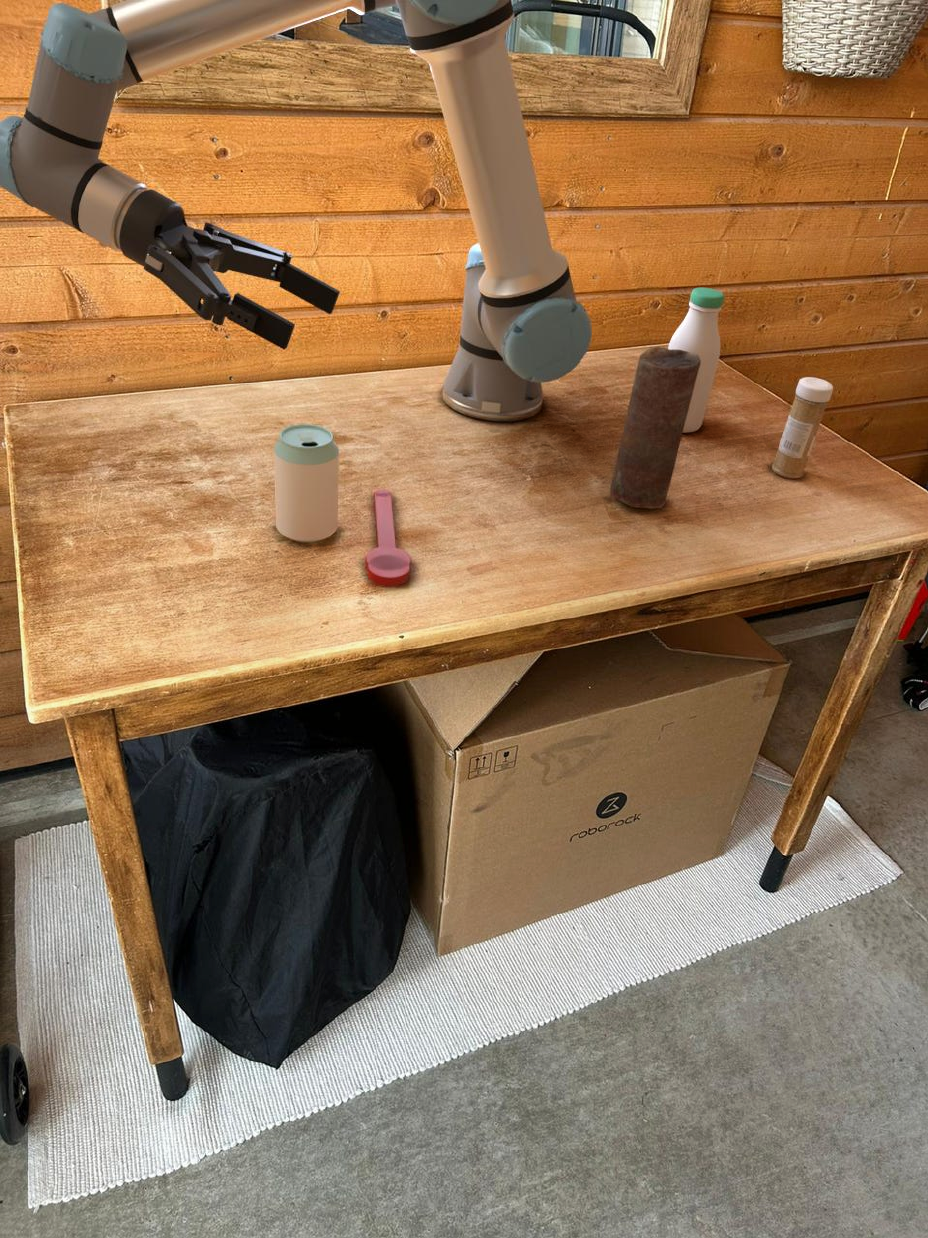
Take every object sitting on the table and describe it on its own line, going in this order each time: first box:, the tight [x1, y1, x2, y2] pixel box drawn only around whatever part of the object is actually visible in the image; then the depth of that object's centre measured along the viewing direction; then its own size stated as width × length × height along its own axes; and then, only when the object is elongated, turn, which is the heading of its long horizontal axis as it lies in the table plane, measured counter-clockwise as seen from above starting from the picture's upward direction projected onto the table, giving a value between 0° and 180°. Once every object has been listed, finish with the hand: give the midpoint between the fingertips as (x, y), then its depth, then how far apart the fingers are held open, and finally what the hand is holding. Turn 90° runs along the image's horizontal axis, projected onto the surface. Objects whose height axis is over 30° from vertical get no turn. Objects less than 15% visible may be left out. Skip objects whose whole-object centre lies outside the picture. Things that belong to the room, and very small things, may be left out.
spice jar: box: [771, 376, 834, 479], centre depth 129 cm, size 5×5×13 cm
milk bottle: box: [667, 287, 725, 433], centre depth 137 cm, size 8×8×20 cm
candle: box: [609, 346, 701, 510], centre depth 115 cm, size 8×7×20 cm
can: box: [273, 423, 340, 543], centre depth 104 cm, size 7×7×12 cm
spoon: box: [364, 488, 412, 588], centre depth 108 cm, size 20×5×1 cm, turn 6°
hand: (314, 319), depth 100 cm, fingers open, 13 cm apart
